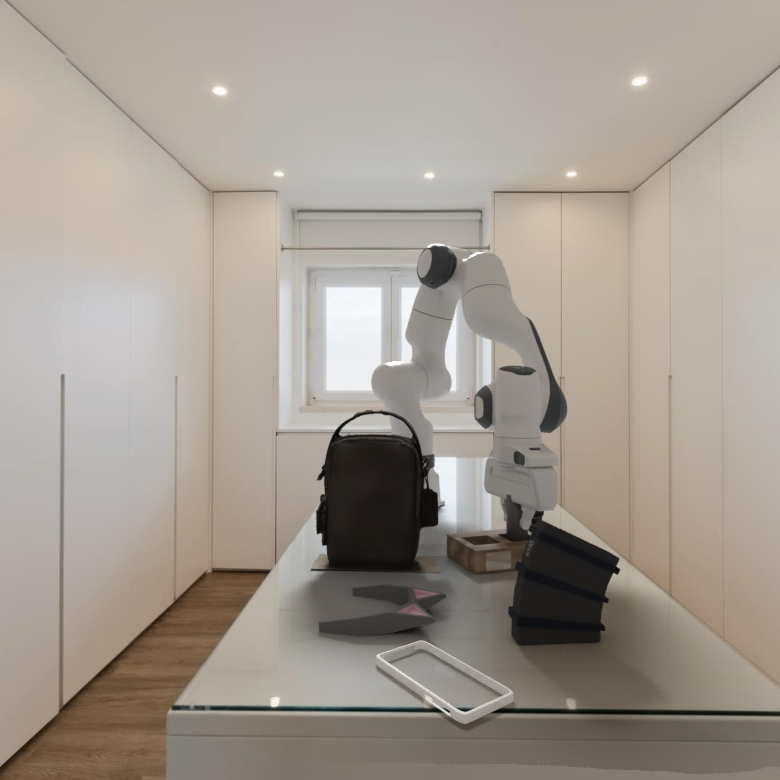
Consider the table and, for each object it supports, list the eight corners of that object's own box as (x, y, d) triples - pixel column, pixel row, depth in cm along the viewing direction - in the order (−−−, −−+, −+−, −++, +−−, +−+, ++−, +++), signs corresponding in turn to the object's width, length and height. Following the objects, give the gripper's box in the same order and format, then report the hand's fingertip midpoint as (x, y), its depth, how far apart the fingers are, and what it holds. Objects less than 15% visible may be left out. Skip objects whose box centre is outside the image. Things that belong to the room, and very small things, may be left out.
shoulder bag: (438, 557, 107) (438, 409, 107) (439, 573, 98) (439, 410, 98) (319, 555, 109) (319, 408, 109) (310, 570, 100) (310, 410, 99)
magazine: (485, 622, 73) (534, 516, 74) (574, 662, 74) (622, 557, 75) (493, 634, 70) (544, 523, 70) (586, 676, 71) (636, 566, 71)
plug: (502, 545, 108) (502, 492, 108) (520, 543, 109) (520, 491, 109) (513, 551, 104) (513, 496, 104) (532, 549, 106) (532, 495, 106)
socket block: (446, 555, 109) (446, 534, 109) (519, 547, 114) (519, 527, 114) (476, 575, 97) (477, 551, 97) (556, 565, 102) (556, 543, 102)
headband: (351, 583, 88) (447, 581, 84) (353, 603, 88) (450, 602, 84) (317, 618, 74) (429, 618, 71) (319, 641, 74) (432, 643, 70)
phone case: (516, 704, 58) (422, 649, 70) (516, 691, 58) (422, 638, 70) (463, 730, 54) (373, 666, 66) (463, 715, 54) (373, 654, 66)
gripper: (476, 447, 116) (476, 514, 116) (533, 458, 96) (532, 540, 96) (503, 446, 118) (503, 512, 118) (564, 457, 98) (564, 537, 98)
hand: (517, 525), depth 107 cm, fingers closed on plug, 4 cm apart
